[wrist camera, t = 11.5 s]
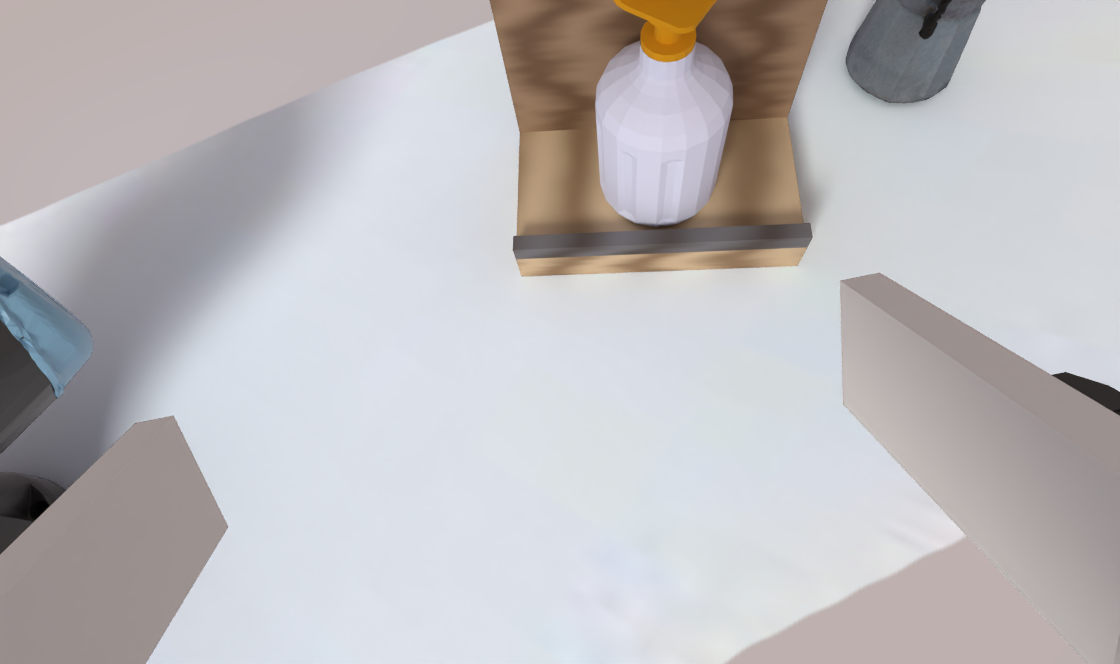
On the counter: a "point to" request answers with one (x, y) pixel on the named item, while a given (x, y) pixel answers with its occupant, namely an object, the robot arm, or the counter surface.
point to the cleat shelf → (572, 148)
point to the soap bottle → (662, 116)
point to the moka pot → (910, 47)
